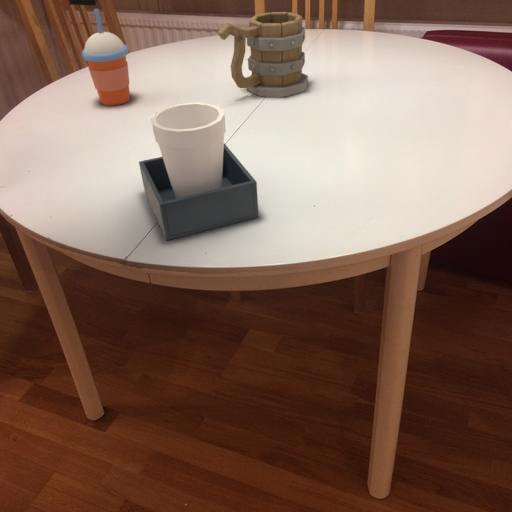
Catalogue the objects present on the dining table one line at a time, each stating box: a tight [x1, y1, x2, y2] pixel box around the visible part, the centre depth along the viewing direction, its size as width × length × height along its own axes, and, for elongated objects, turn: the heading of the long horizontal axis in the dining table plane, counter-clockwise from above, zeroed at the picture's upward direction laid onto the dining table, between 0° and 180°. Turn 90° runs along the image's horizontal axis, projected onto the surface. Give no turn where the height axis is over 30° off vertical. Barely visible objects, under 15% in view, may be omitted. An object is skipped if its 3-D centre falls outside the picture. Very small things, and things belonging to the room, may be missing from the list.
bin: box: [138, 142, 259, 241], centre depth 74 cm, size 13×13×6 cm
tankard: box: [217, 11, 309, 98], centre depth 108 cm, size 20×13×15 cm, turn 123°
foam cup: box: [150, 102, 227, 199], centre depth 72 cm, size 10×9×13 cm
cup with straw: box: [81, 8, 131, 106], centre depth 106 cm, size 9×9×18 cm
